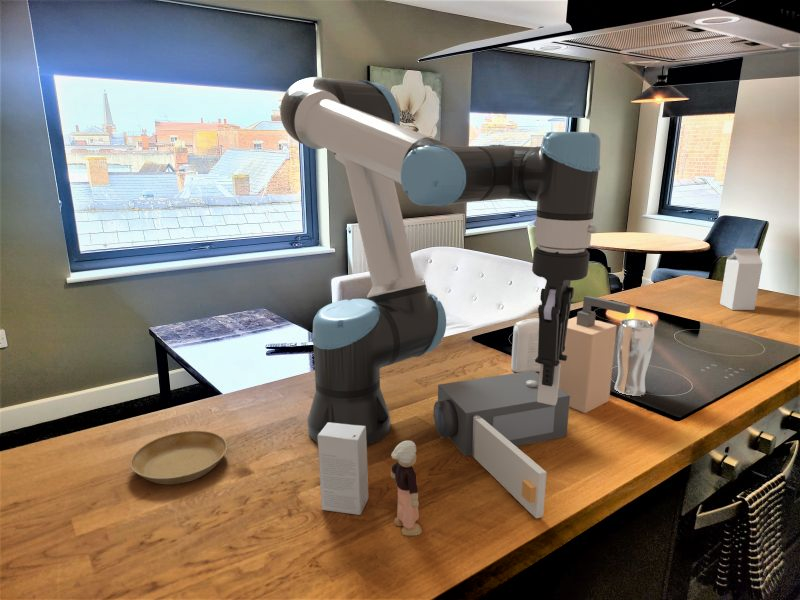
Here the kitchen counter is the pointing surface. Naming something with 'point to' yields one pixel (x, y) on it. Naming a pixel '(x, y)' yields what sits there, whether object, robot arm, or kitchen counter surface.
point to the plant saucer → (179, 457)
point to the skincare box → (343, 468)
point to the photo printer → (525, 346)
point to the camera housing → (499, 410)
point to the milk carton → (741, 280)
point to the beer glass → (633, 355)
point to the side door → (509, 466)
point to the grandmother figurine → (406, 488)
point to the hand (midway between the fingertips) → (547, 401)
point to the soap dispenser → (589, 356)
